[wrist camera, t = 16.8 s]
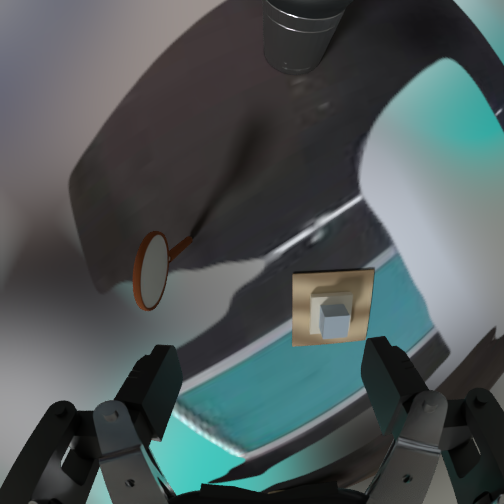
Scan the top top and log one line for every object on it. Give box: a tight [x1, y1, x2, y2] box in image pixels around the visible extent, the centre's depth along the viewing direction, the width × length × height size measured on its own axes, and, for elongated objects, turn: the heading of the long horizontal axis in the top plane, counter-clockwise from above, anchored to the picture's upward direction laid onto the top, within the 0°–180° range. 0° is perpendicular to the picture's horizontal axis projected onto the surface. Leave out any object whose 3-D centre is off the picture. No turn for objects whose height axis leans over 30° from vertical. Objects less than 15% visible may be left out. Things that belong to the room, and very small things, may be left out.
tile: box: [309, 291, 353, 334], centre depth 44 cm, size 7×2×7 cm
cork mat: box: [292, 269, 374, 346], centre depth 45 cm, size 14×14×1 cm
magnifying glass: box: [133, 231, 192, 311], centre depth 33 cm, size 9×2×20 cm, turn 173°
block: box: [319, 304, 350, 339], centre depth 41 cm, size 4×4×4 cm
